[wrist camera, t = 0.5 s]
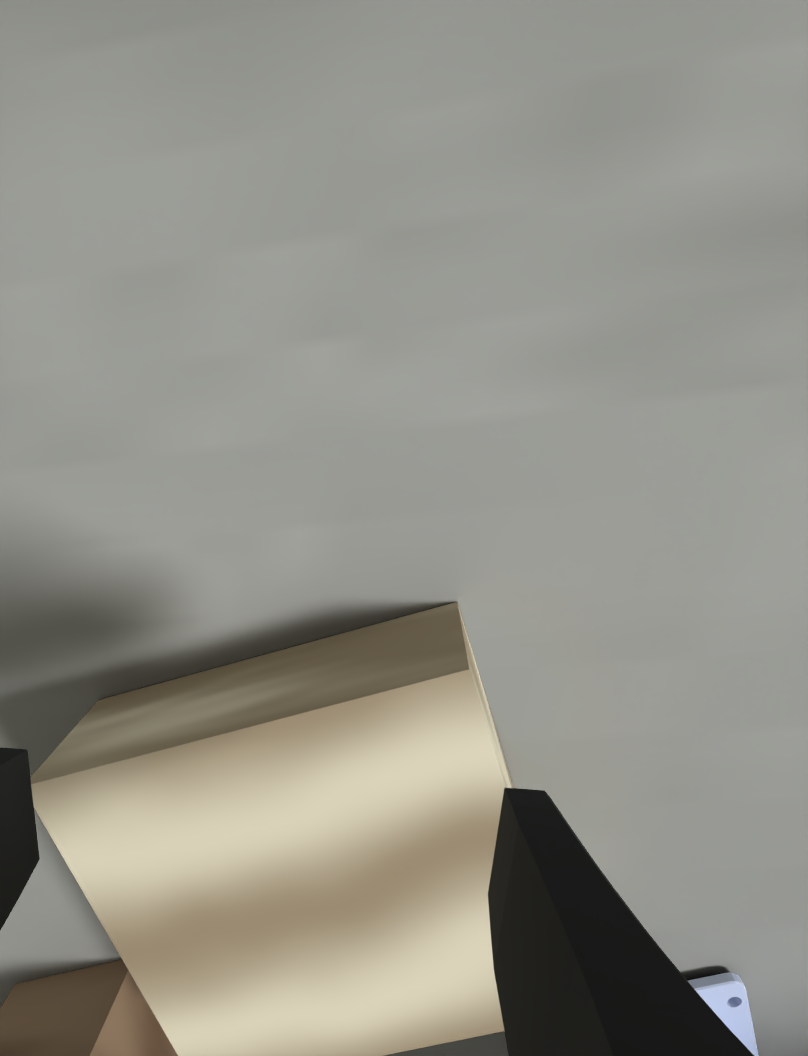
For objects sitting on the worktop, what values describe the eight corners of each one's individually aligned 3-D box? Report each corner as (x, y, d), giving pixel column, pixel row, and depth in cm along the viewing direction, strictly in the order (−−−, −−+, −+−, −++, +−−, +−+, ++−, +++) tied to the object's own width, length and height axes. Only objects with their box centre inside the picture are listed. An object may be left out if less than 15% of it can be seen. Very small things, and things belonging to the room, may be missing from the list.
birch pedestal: (547, 897, 22) (575, 1016, 18) (235, 967, 23) (199, 1092, 19) (457, 601, 18) (469, 669, 15) (98, 700, 20) (22, 786, 16)
